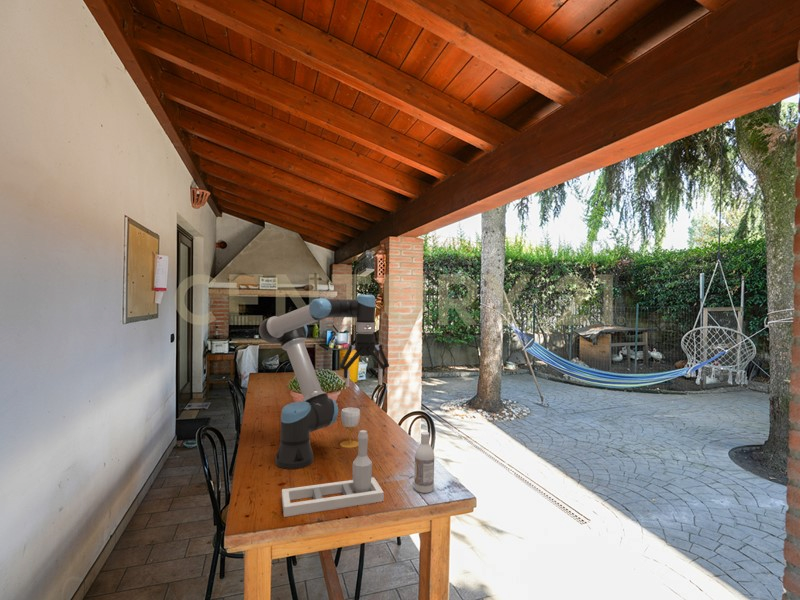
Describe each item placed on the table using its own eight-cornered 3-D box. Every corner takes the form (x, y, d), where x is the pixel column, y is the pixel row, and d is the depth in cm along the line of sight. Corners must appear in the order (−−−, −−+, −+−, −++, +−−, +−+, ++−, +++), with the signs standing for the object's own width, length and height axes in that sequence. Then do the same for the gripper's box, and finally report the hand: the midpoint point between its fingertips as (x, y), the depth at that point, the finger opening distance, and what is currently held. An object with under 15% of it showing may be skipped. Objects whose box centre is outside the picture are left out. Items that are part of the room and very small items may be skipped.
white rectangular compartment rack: (283, 517, 120) (284, 507, 120) (281, 498, 131) (281, 489, 131) (383, 501, 131) (383, 492, 131) (373, 485, 142) (373, 477, 142)
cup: (346, 449, 176) (347, 413, 176) (336, 443, 183) (337, 409, 183) (363, 445, 182) (364, 410, 182) (352, 439, 189) (353, 406, 189)
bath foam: (413, 484, 143) (415, 429, 144) (432, 484, 143) (434, 430, 144) (414, 493, 137) (415, 435, 137) (434, 494, 136) (435, 436, 137)
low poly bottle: (374, 495, 134) (376, 431, 135) (360, 502, 130) (362, 435, 130) (362, 489, 139) (363, 427, 139) (348, 495, 134) (350, 431, 134)
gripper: (336, 333, 151) (335, 388, 150) (397, 333, 159) (396, 385, 159) (332, 332, 158) (331, 385, 157) (391, 332, 166) (390, 382, 166)
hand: (364, 385), depth 158 cm, fingers open, 13 cm apart
